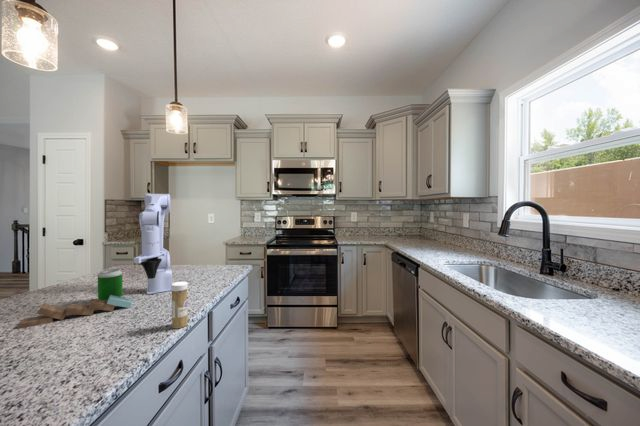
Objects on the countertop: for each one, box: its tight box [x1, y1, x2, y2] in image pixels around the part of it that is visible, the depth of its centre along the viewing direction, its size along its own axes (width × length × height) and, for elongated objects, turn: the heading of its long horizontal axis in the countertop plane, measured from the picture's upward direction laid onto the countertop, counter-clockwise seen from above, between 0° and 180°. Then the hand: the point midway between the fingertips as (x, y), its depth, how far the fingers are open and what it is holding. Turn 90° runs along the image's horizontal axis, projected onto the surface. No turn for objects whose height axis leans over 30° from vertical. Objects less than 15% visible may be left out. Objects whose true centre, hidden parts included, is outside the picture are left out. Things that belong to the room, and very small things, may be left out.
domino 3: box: [66, 303, 96, 316], centre depth 89 cm, size 2×4×7 cm
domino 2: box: [36, 303, 68, 321], centre depth 85 cm, size 2×4×7 cm
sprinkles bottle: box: [171, 281, 189, 329], centre depth 81 cm, size 5×5×14 cm
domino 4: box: [89, 298, 116, 312], centre depth 93 cm, size 2×4×7 cm
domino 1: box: [18, 315, 56, 330], centre depth 83 cm, size 2×4×7 cm
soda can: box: [97, 268, 124, 301], centre depth 102 cm, size 8×8×12 cm
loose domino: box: [107, 295, 133, 309], centre depth 96 cm, size 2×4×7 cm
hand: (151, 278), depth 99 cm, fingers closed
